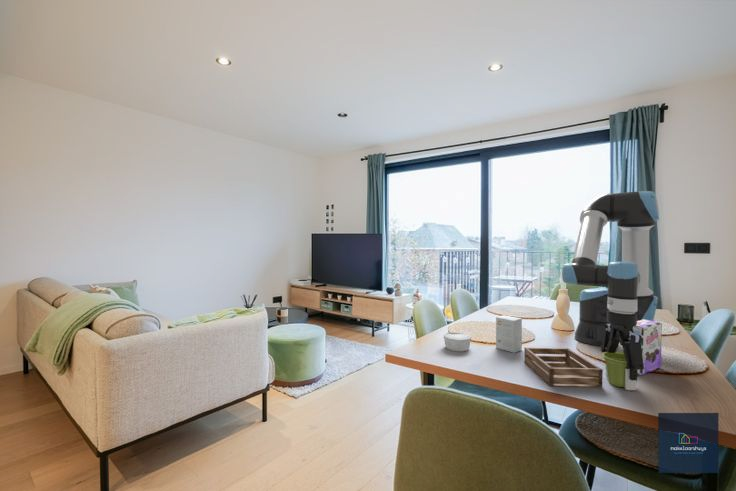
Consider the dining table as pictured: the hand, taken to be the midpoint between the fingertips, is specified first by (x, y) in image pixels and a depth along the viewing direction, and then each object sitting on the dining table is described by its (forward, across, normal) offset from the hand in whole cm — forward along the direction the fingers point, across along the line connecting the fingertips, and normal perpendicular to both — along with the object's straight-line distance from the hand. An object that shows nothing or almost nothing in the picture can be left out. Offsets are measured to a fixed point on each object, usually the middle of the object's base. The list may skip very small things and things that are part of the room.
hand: (620, 383), depth 106 cm
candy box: (+1, -13, +16) cm, 21 cm away
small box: (+1, -32, -23) cm, 39 cm away
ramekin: (+1, -32, -44) cm, 54 cm away
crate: (0, -7, -15) cm, 17 cm away
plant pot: (+1, 0, 0) cm, 1 cm away
